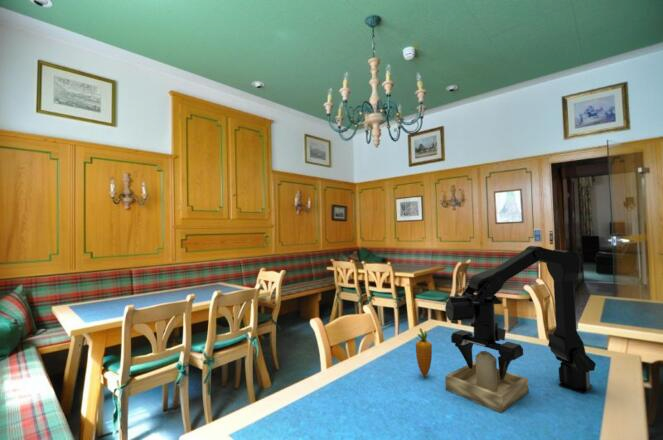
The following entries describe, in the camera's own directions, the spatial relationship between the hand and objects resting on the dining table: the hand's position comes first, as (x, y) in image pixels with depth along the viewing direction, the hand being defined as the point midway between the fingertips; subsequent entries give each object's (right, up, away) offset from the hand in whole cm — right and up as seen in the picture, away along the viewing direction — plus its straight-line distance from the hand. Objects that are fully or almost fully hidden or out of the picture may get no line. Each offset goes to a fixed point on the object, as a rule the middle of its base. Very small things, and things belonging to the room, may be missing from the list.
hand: (486, 373), depth 95 cm
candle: (0, -4, 0) cm, 4 cm away
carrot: (-15, -6, +10) cm, 19 cm away
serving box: (0, -5, 0) cm, 5 cm away
